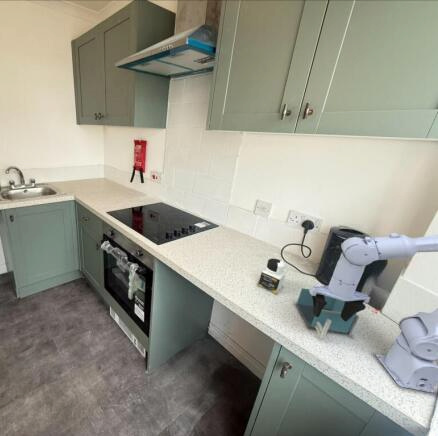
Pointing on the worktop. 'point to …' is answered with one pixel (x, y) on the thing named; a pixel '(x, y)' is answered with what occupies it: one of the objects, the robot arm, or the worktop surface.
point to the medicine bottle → (273, 275)
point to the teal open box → (332, 304)
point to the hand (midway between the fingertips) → (329, 316)
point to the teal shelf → (330, 322)
